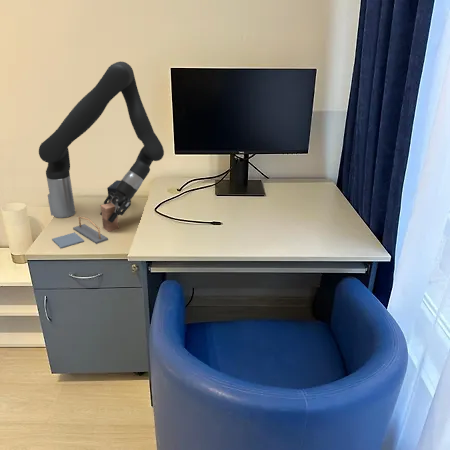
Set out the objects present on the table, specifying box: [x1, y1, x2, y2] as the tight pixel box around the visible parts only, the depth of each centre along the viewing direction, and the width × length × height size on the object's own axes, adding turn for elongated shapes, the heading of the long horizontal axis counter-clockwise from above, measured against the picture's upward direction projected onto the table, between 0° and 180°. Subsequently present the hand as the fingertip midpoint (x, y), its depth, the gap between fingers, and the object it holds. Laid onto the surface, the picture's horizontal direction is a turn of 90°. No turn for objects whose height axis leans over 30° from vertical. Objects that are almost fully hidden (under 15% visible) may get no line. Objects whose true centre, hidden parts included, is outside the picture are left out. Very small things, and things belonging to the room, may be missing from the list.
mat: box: [51, 231, 85, 249], centre depth 164 cm, size 9×9×1 cm
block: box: [100, 202, 120, 233], centre depth 172 cm, size 4×4×10 cm
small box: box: [106, 180, 132, 210], centre depth 195 cm, size 11×6×10 cm, turn 170°
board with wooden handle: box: [72, 216, 109, 245], centre depth 168 cm, size 5×18×7 cm, turn 45°
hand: (106, 218), depth 172 cm, fingers open, 6 cm apart
